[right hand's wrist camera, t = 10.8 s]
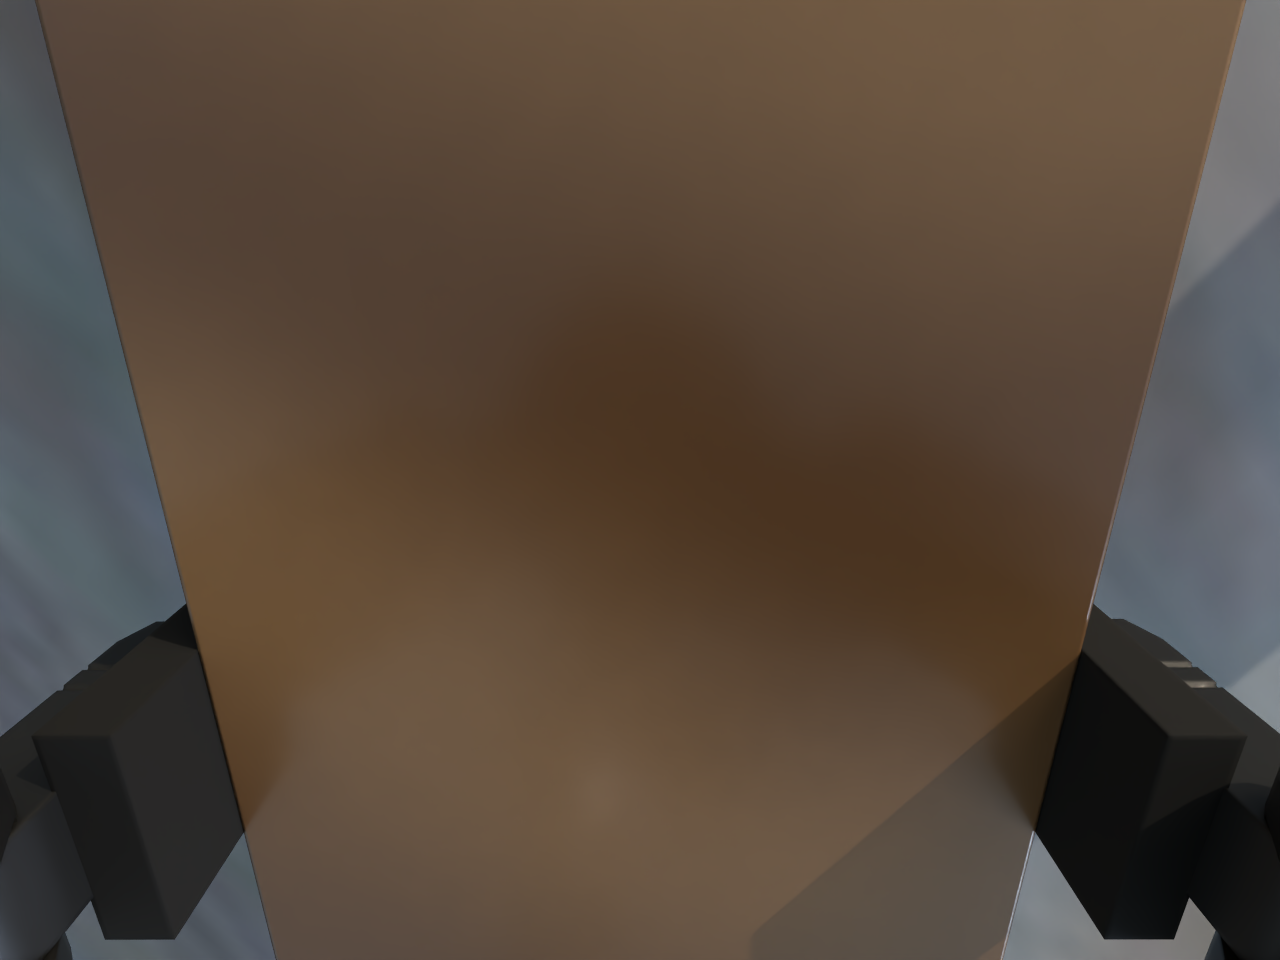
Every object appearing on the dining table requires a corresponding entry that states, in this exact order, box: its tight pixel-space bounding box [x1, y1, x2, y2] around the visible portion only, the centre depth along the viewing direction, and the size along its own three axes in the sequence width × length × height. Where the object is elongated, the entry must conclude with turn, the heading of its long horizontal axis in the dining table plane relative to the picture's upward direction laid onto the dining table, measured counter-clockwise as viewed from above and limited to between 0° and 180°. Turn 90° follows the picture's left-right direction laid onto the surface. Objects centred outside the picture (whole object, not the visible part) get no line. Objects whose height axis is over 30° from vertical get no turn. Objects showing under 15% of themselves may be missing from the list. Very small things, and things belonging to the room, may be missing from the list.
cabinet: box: [35, 0, 1246, 960], centre depth 11 cm, size 19×10×9 cm, turn 0°
